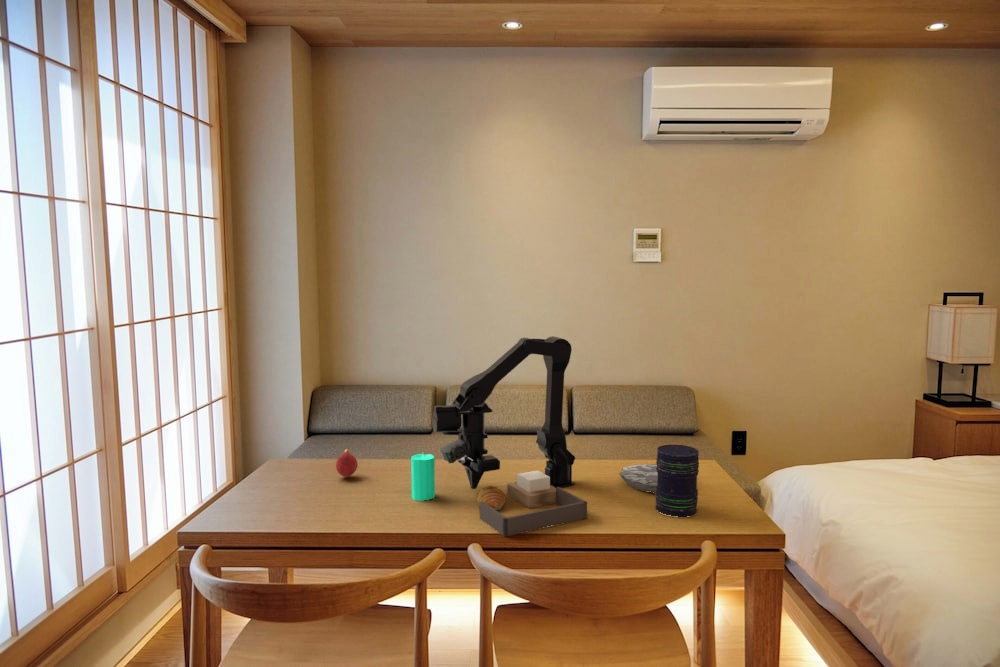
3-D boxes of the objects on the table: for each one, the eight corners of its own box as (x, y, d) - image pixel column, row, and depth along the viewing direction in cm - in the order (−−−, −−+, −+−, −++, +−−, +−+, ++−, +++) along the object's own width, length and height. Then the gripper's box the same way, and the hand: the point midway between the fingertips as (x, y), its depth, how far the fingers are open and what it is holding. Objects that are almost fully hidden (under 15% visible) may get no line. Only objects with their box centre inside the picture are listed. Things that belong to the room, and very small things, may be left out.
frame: (558, 502, 169) (558, 486, 168) (586, 518, 158) (587, 502, 158) (479, 518, 158) (479, 502, 158) (504, 536, 148) (504, 519, 148)
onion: (355, 481, 185) (354, 452, 184) (334, 481, 185) (333, 452, 184) (359, 474, 191) (359, 447, 190) (339, 474, 191) (338, 446, 190)
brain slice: (627, 470, 195) (627, 460, 195) (687, 477, 189) (688, 467, 189) (612, 492, 177) (613, 481, 177) (679, 500, 171) (679, 489, 171)
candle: (431, 501, 170) (430, 455, 168) (408, 499, 171) (407, 453, 169) (438, 493, 175) (437, 448, 174) (416, 492, 177) (415, 447, 175)
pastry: (508, 512, 163) (508, 496, 163) (480, 514, 162) (480, 498, 162) (502, 498, 172) (502, 484, 172) (476, 500, 171) (475, 485, 171)
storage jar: (652, 514, 161) (653, 453, 159) (658, 501, 170) (659, 442, 168) (695, 520, 157) (697, 457, 156) (699, 506, 166) (701, 446, 165)
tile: (537, 481, 176) (537, 470, 175) (549, 488, 170) (549, 476, 170) (517, 485, 173) (517, 473, 172) (529, 492, 167) (529, 480, 167)
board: (537, 489, 179) (537, 478, 178) (560, 502, 169) (560, 490, 169) (507, 494, 174) (507, 483, 174) (529, 508, 165) (529, 496, 165)
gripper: (430, 425, 178) (430, 483, 180) (460, 442, 162) (460, 505, 164) (468, 420, 184) (468, 476, 185) (501, 436, 167) (501, 497, 169)
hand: (473, 488), depth 176 cm, fingers closed
